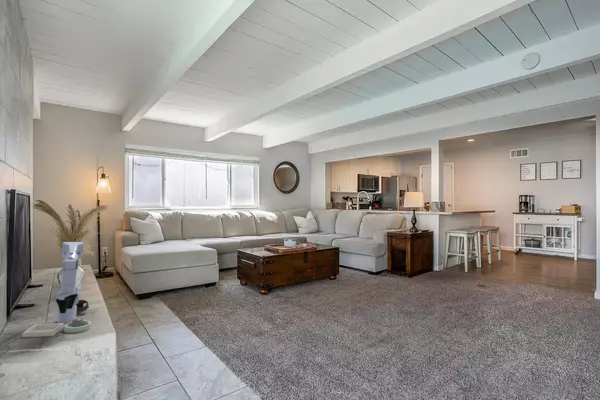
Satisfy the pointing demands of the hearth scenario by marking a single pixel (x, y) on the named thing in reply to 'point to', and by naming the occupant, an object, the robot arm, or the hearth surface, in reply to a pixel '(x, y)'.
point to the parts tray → (43, 330)
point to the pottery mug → (80, 306)
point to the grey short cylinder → (77, 322)
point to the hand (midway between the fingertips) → (66, 310)
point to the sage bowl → (71, 329)
